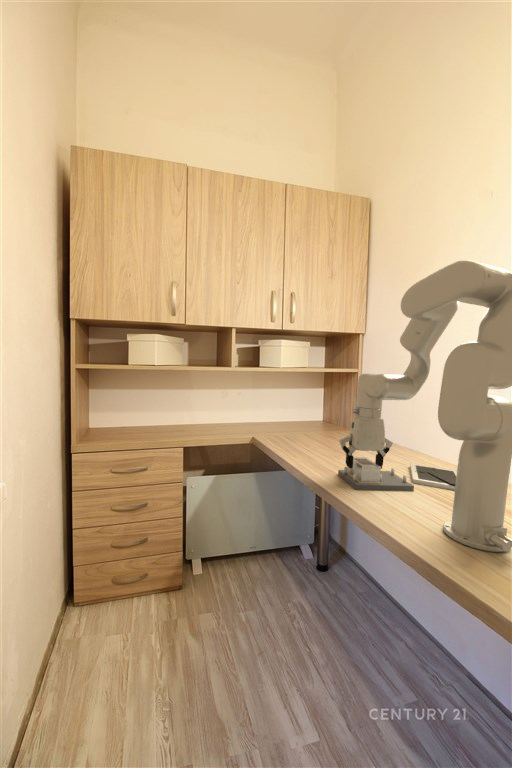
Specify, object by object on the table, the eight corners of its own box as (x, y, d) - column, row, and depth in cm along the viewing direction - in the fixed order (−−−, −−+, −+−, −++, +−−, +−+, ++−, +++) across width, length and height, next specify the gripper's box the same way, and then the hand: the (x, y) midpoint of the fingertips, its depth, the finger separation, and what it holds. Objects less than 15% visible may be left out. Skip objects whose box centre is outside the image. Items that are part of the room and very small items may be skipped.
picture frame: (468, 495, 107) (456, 476, 127) (469, 486, 107) (457, 468, 127) (412, 485, 113) (409, 468, 132) (413, 476, 113) (410, 461, 132)
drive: (379, 482, 106) (380, 466, 105) (360, 482, 105) (362, 465, 105) (364, 472, 116) (365, 457, 115) (347, 471, 115) (348, 456, 114)
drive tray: (413, 490, 106) (414, 479, 105) (356, 489, 103) (357, 478, 103) (389, 475, 119) (390, 465, 119) (338, 474, 117) (338, 464, 116)
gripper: (346, 413, 104) (342, 470, 105) (400, 416, 107) (396, 471, 107) (337, 410, 111) (333, 463, 112) (387, 412, 114) (383, 464, 115)
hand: (363, 467), depth 110 cm, fingers open, 9 cm apart
